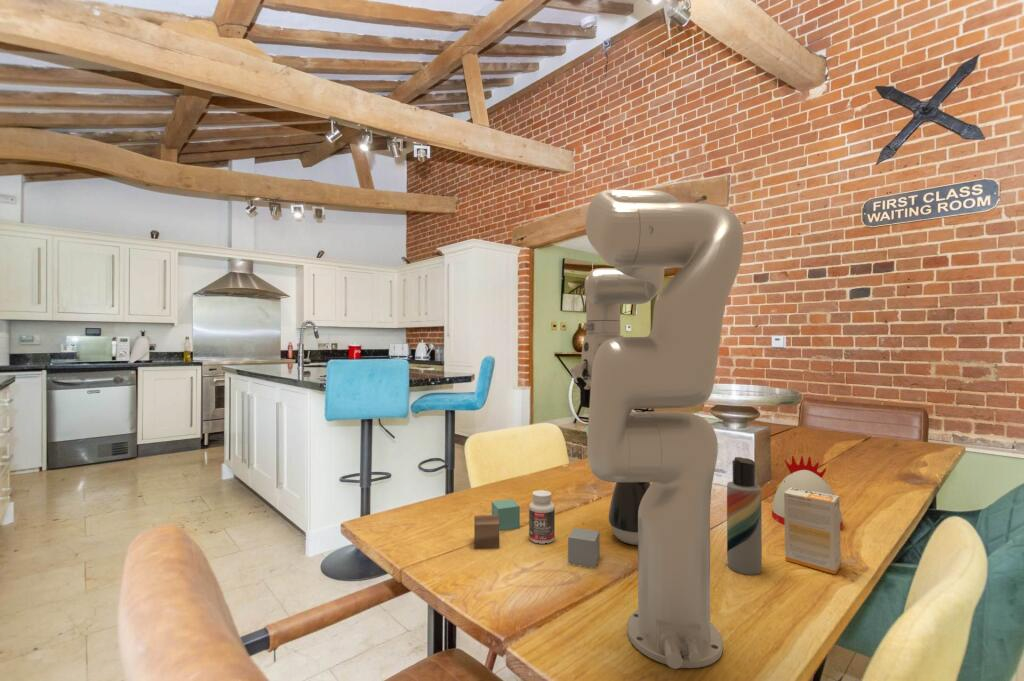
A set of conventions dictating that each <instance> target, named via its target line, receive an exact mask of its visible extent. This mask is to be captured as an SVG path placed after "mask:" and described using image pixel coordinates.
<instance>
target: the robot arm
mask: <svg viewBox="0 0 1024 681" xmlns="http://www.w3.org/2000/svg"><path fill="white" fill-rule="evenodd" d="M585 232H586V236H587V240H588V241H589V244H590V245H591V246H592V247H593V249H594V250H595V251H596V252H597V253H598V255H599V256H600V258H602V260H603V261H604V262H605V263H606V264H608V265H609V266H612V267H601V268H594V269H592V270H590V271H589V273H588V274H587V276H586V277H585V278H584V293H585V296H586V298H585V300H586V301H585V302H586V303H585V304H586V305H585V306H586V307H585V308H586V309H585V310H586V312H585V315H586V316H585V320H586V321H585V322H586V323H584V324H583V326H582V328H583V330H584V331H586V333H585V334H586V335H584V337H583V343H582V349H581V358H580V362H579V363H578V364H577V365H575V366H574V367H573V368H572V367H571V368H570V374H571V376H572V378H573V382H574V384H576V385H577V388H578V389H579V390H580V392H579V395H580V396H579V397H580V398H579V400H580V407H581V408H585V409H586V408H587V409H589V411H588V422H587V423H588V425H587V438H586V439H587V442H586V445H587V446H586V448H587V450H586V451H587V452H586V453H587V454H586V455H587V461H588V466H589V469H590V471H591V472H592V474H593V475H594V476H595V477H596V478H597V479H599V480H600V481H603V482H607V483H616V482H650V484H651V485H650V486H649V488H648V489H647V491H646V492H645V494H644V496H643V498H642V500H641V503H640V506H639V510H638V545H637V571H638V572H637V580H638V581H637V585H638V586H637V587H638V588H637V591H638V592H637V593H638V594H637V595H638V596H637V597H638V598H637V604H638V606H637V608H638V609H637V610H636V611H634V612H633V613H632V614H630V615H629V617H628V619H627V622H626V633H627V637H628V639H629V641H630V642H631V644H632V645H633V646H634V647H635V649H637V650H638V651H639V652H640V653H642V654H643V655H645V656H646V657H648V658H650V659H651V660H653V661H656V662H658V663H661V664H664V665H667V666H668V667H670V668H671V669H675V670H677V669H680V668H683V669H698V668H703V667H707V666H710V665H712V664H714V663H715V662H716V661H717V662H718V660H719V659H720V658H721V656H722V655H723V654H722V653H723V650H724V648H723V647H724V643H723V642H724V640H723V636H722V634H721V633H720V631H719V629H718V628H717V627H716V626H715V625H714V624H713V623H712V622H711V500H712V488H713V481H714V475H715V470H716V466H717V459H718V452H719V446H718V445H719V443H718V437H717V435H716V434H717V433H716V431H715V429H714V427H713V426H712V425H711V423H710V422H709V421H708V420H706V419H705V418H704V417H702V416H700V415H699V414H695V413H692V412H685V411H676V410H675V411H671V410H670V411H665V410H664V411H658V410H657V411H640V412H639V411H637V412H632V411H633V410H638V409H639V410H642V409H643V410H645V409H653V410H654V409H688V408H695V407H699V406H701V405H703V404H705V403H706V402H708V400H709V398H710V397H711V395H712V392H713V390H714V384H715V379H716V375H717V367H718V359H719V351H720V345H721V339H722V338H721V337H722V331H723V330H722V329H723V321H724V314H725V310H726V305H727V302H728V300H729V296H730V293H731V291H732V288H733V286H734V283H735V280H736V278H737V275H738V272H739V270H740V267H741V264H742V259H743V255H744V231H743V226H742V224H741V221H740V219H739V217H737V215H736V214H735V213H734V212H733V211H731V210H730V209H729V208H726V207H724V206H720V205H716V204H711V203H701V202H700V203H697V202H680V200H678V199H677V197H675V196H674V195H672V194H671V193H669V192H666V191H663V190H655V189H605V190H602V191H599V192H598V193H597V194H596V195H595V196H594V197H593V198H592V200H591V201H590V203H589V205H588V208H587V210H586V216H585ZM613 267H614V268H613ZM665 268H681V269H680V270H679V271H677V273H676V274H675V275H673V276H672V277H671V278H670V279H669V280H668V281H667V283H666V284H665V285H664V287H663V288H662V286H663V283H664V279H665ZM660 290H661V291H660ZM657 294H658V295H657ZM656 295H657V297H656ZM655 297H656V299H655V301H654V305H653V313H652V324H651V330H650V333H649V334H648V335H647V336H625V337H624V335H621V305H644V304H647V303H649V302H650V301H651V300H652V299H654V298H655Z"/></svg>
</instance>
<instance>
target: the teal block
mask: <svg viewBox="0 0 1024 681" xmlns="http://www.w3.org/2000/svg"><path fill="white" fill-rule="evenodd" d="M520 508H521V506H520V504H518V503H517V502H516V501H515V500H514V499H512V498H510V499H502V500H501V499H500V500H495V501H491V515H498V518H499V532H503V531H510V530H511V531H512V530H515V529H516V530H517V529H520V528H521V527H520V526H521V524H520V522H521V516H520V514H521V513H520V512H521V510H520Z"/></svg>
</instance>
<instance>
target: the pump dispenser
mask: <svg viewBox="0 0 1024 681" xmlns="http://www.w3.org/2000/svg"><path fill="white" fill-rule="evenodd" d="M650 485H651V482H615V485H614V488H613V492H612V495H611V499H610V504H609V505H610V506H609V511H608V522H609V524H610V527H611V530H612V532H613V534H614V536H615V537H616V538H617V539H618V540H620V541H621V542H623V543H625V544H627V545H628V544H629V545H633V546H638V510H639V506H640V503H641V500H642V498H643V496H644V494H645V492H646V491H647V489H648V488H649V486H650Z"/></svg>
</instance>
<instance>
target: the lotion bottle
mask: <svg viewBox="0 0 1024 681" xmlns="http://www.w3.org/2000/svg"><path fill="white" fill-rule="evenodd" d="M731 466H732V467H731V468H732V481H729V482H727V484H726V556H727V557H726V559H727V565H728V567H729V568H730V569H731V570H733V571H734V572H736V573H740V574H744V575H758V574H760V573H761V571H762V568H763V567H762V566H763V565H762V563H763V562H762V561H763V559H762V558H763V557H762V555H763V554H762V553H763V552H762V547H763V546H762V545H763V544H762V540H763V539H762V536H763V535H762V530H763V528H762V523H763V522H762V511H763V510H762V488H761V486H760V485H758V484H756V462H755V461H754V460H752V459H751V458H745V457H739V456H735V457H734V459H733V460H732V464H731Z"/></svg>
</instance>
